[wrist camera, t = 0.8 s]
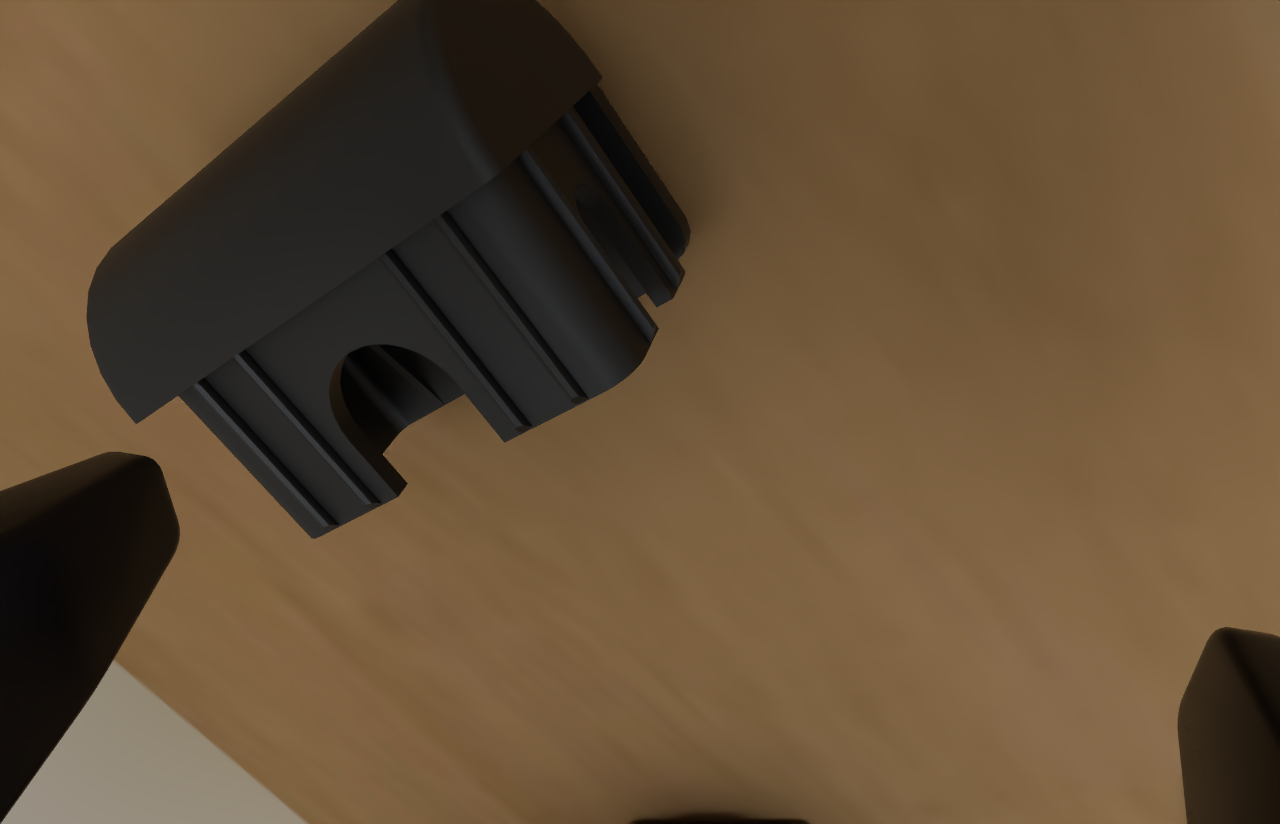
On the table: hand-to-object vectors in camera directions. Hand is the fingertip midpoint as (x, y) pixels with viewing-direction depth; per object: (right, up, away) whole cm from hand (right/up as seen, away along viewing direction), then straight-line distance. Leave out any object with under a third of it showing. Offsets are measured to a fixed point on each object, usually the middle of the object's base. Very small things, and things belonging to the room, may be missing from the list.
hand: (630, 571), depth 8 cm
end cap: (-4, +6, +15) cm, 16 cm away
